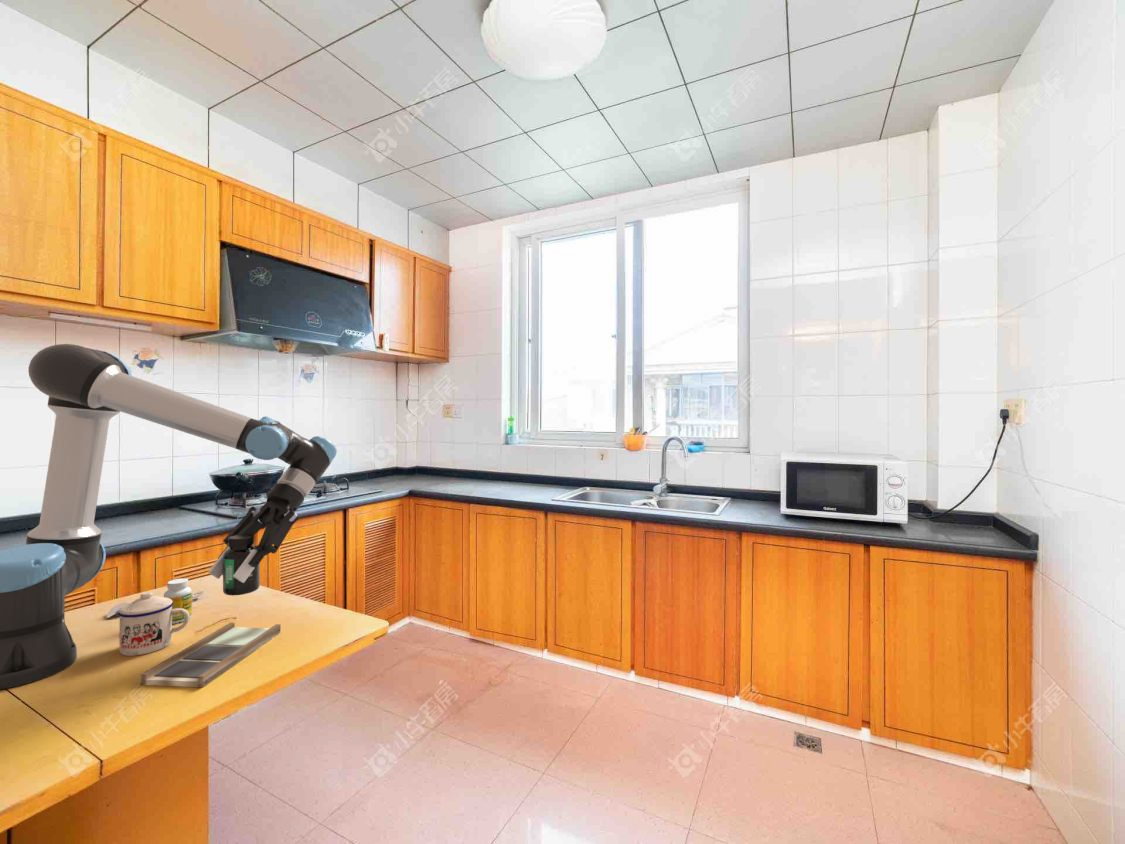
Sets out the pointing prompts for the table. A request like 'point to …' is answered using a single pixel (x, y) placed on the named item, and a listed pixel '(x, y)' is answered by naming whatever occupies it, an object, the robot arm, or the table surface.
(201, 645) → the window panel
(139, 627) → the teacup with lid
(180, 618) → the supplement bottle
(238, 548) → the supplement bottle
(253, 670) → the table surface
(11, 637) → the robot arm
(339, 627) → the table surface
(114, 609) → the stirrer
